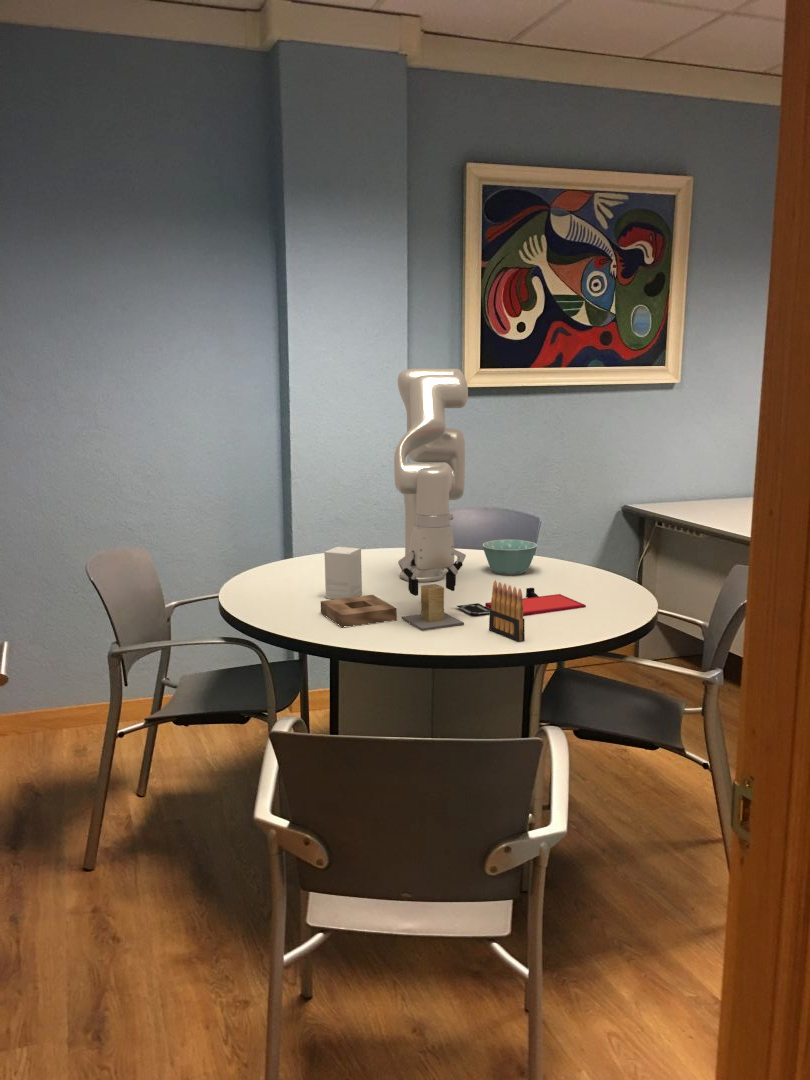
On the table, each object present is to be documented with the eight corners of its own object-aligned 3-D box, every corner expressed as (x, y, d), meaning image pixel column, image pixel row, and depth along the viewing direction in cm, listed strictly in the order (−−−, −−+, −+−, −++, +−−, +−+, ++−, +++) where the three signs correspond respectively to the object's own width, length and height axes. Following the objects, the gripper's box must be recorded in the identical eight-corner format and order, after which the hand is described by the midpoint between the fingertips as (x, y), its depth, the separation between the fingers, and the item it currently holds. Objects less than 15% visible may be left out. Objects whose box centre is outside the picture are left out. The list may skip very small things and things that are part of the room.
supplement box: (362, 595, 244) (362, 548, 242) (349, 601, 238) (348, 553, 235) (338, 592, 247) (337, 545, 245) (324, 598, 241) (323, 551, 238)
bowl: (471, 572, 269) (471, 544, 267) (502, 563, 281) (502, 536, 279) (516, 580, 259) (517, 552, 257) (546, 571, 271) (547, 543, 269)
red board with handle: (451, 607, 232) (482, 624, 219) (452, 596, 232) (482, 612, 219) (551, 595, 245) (585, 610, 232) (551, 585, 245) (586, 599, 231)
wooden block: (435, 616, 222) (435, 583, 220) (443, 620, 218) (443, 587, 217) (420, 618, 220) (420, 585, 219) (428, 622, 217) (428, 589, 215)
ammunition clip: (488, 630, 213) (489, 579, 210) (495, 629, 214) (495, 578, 211) (518, 642, 204) (519, 589, 201) (524, 641, 205) (526, 588, 202)
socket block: (372, 606, 233) (372, 594, 233) (396, 620, 221) (396, 608, 220) (320, 612, 227) (320, 601, 227) (342, 627, 215) (341, 615, 214)
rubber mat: (441, 613, 227) (441, 611, 226) (463, 624, 217) (463, 622, 217) (401, 618, 222) (401, 616, 222) (422, 630, 212) (422, 628, 212)
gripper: (457, 515, 222) (456, 584, 225) (392, 521, 214) (392, 592, 218) (473, 520, 215) (472, 591, 219) (406, 527, 208) (406, 600, 211)
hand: (432, 591), depth 218 cm, fingers open, 9 cm apart
